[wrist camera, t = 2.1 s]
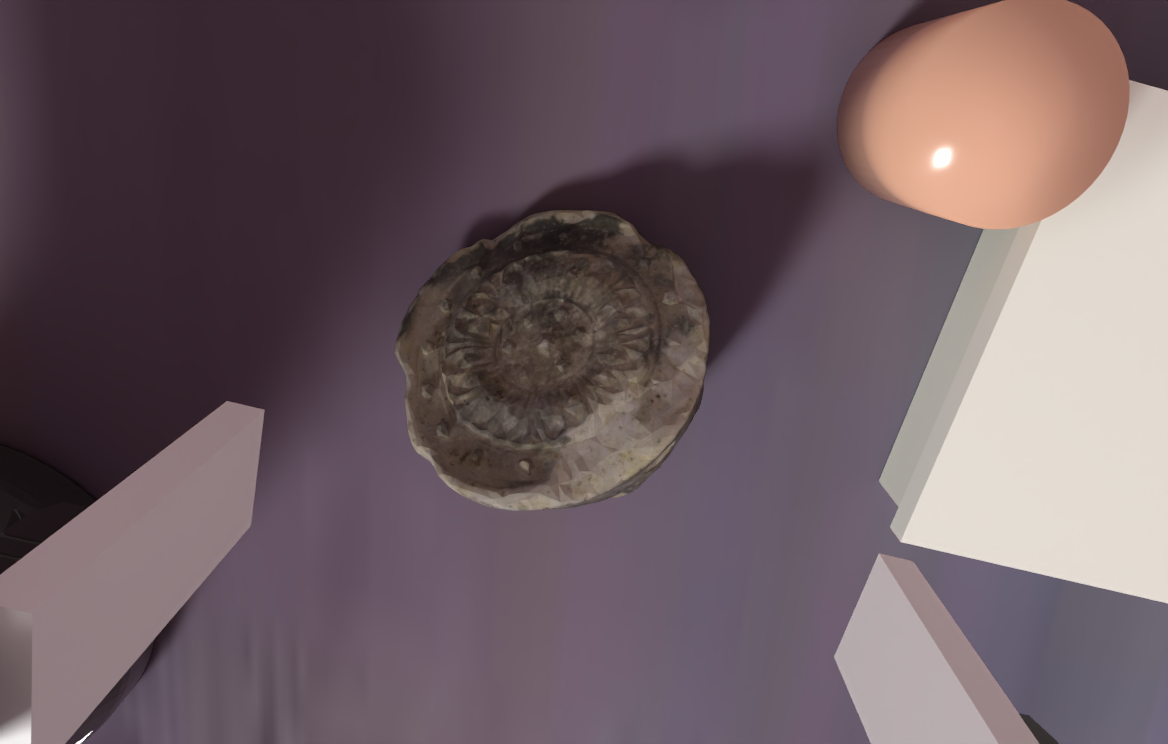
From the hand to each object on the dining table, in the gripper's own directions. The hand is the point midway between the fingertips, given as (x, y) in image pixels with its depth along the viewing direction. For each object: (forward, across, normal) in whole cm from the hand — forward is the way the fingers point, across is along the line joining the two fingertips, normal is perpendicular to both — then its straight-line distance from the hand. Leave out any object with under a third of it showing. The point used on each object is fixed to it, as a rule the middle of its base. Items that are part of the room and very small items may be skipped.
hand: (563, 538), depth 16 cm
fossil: (+14, -1, 0) cm, 14 cm away
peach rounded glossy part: (+14, +10, +11) cm, 20 cm away
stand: (+14, +20, +5) cm, 25 cm away
